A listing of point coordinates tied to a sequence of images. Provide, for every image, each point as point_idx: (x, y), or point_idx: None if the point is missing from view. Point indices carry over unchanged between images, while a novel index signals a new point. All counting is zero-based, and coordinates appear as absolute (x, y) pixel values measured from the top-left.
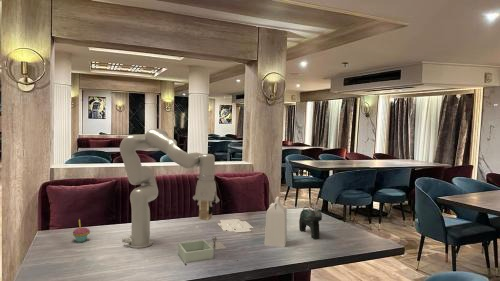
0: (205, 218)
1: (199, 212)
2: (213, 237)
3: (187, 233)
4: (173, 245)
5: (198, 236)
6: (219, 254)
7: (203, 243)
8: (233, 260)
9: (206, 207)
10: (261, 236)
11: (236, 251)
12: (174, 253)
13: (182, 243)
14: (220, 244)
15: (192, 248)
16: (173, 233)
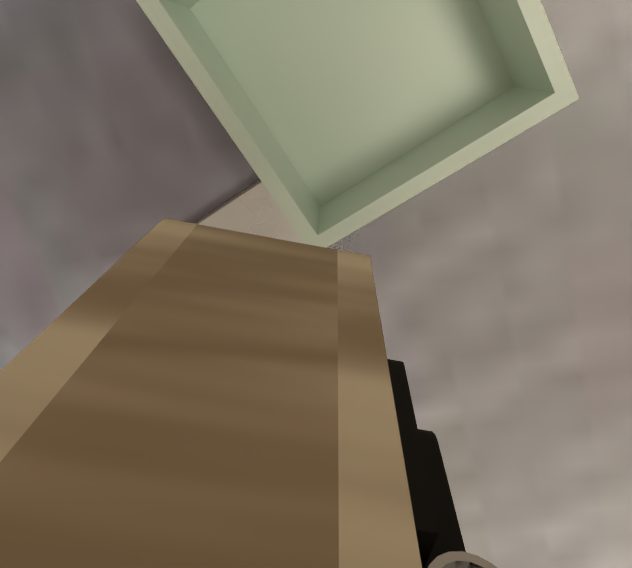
0: (214, 240)
1: (370, 325)
2: None
3: (516, 512)
4: (595, 290)
5: None
6: (170, 168)
7: (316, 222)
8: (9, 56)
9: (70, 398)
10: None
11: (62, 254)
12: (564, 117)
13: (525, 109)
14: None
15: (410, 159)
16: (621, 501)
